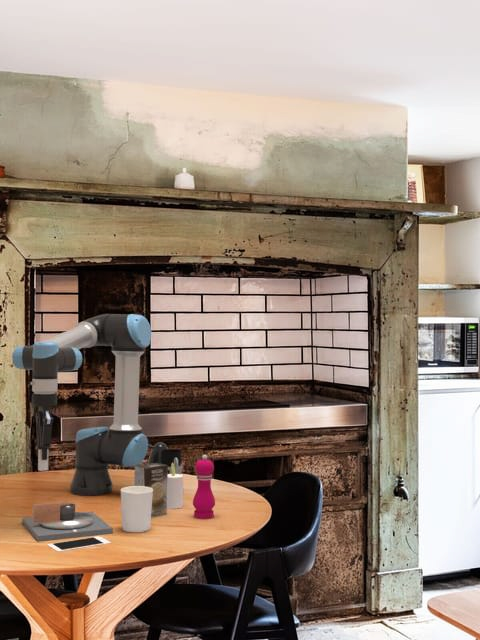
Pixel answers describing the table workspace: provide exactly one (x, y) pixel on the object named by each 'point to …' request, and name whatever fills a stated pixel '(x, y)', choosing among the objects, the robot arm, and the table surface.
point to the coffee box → (154, 484)
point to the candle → (174, 490)
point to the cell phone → (78, 543)
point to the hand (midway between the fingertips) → (43, 470)
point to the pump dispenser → (156, 452)
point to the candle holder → (136, 508)
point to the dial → (60, 516)
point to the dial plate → (53, 534)
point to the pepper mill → (204, 489)
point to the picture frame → (172, 459)
